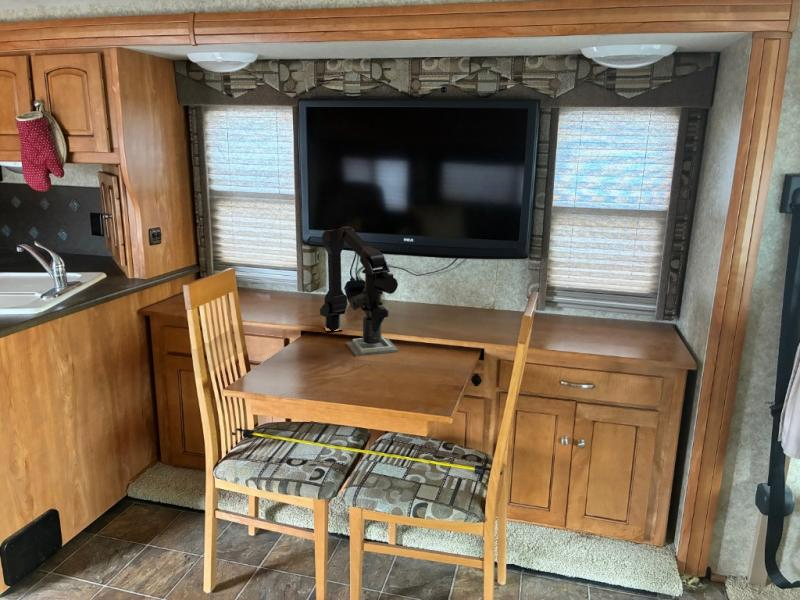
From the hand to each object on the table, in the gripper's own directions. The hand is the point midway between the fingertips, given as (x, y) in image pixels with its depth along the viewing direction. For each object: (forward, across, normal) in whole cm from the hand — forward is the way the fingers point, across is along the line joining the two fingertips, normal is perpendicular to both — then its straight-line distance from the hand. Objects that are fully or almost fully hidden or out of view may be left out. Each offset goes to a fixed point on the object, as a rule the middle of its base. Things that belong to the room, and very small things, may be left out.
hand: (372, 329), depth 219 cm
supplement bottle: (+5, 0, 0) cm, 5 cm away
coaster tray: (+7, 0, 0) cm, 7 cm away
